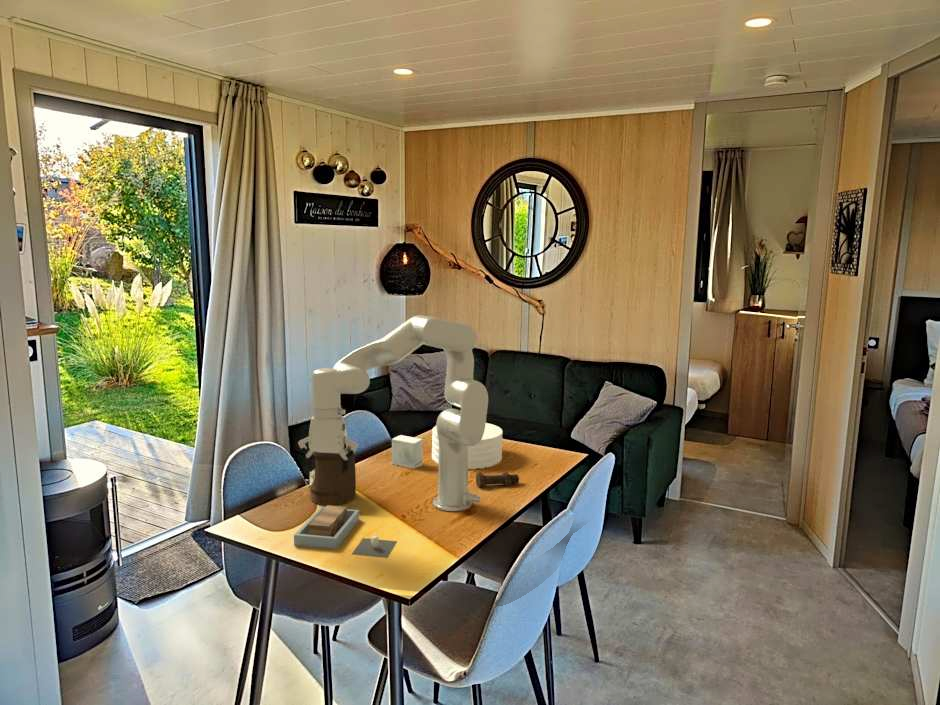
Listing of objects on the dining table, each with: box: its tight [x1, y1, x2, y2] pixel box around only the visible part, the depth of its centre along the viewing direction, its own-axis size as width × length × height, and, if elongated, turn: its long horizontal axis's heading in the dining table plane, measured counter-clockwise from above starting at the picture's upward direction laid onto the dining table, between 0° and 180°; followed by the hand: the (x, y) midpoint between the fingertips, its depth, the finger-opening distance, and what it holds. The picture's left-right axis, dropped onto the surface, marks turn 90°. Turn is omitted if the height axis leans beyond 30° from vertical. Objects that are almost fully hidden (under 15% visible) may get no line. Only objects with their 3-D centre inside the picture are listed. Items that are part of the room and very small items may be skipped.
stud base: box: [351, 535, 398, 559], centre depth 179 cm, size 10×10×4 cm
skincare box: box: [391, 434, 424, 470], centre depth 250 cm, size 10×6×10 cm, turn 63°
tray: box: [293, 506, 360, 550], centre depth 188 cm, size 12×20×4 cm, turn 171°
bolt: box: [475, 471, 520, 489], centre depth 231 cm, size 6×5×15 cm
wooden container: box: [309, 445, 357, 506], centre depth 215 cm, size 15×15×22 cm
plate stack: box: [431, 422, 504, 470], centre depth 260 cm, size 28×28×12 cm
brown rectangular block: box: [309, 505, 348, 537], centre depth 187 cm, size 14×6×5 cm, turn 171°
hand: (328, 471), depth 185 cm, fingers open, 9 cm apart
